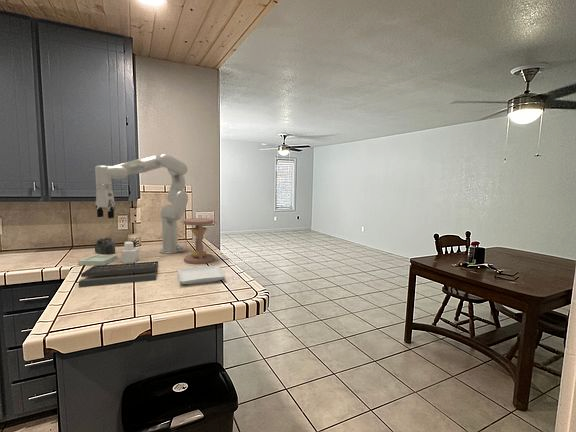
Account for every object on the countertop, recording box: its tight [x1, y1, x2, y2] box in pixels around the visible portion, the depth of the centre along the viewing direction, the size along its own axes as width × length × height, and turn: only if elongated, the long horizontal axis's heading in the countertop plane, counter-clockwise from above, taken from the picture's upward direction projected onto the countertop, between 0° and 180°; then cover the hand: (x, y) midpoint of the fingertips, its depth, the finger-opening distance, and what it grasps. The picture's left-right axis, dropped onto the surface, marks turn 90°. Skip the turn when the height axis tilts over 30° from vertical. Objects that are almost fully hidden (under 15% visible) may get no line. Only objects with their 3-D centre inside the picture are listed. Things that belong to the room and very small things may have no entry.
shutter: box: [78, 260, 159, 288], centre depth 154 cm, size 32×7×31 cm
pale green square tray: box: [77, 254, 118, 266], centre depth 174 cm, size 14×14×2 cm
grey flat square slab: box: [177, 265, 226, 285], centre depth 150 cm, size 21×21×3 cm
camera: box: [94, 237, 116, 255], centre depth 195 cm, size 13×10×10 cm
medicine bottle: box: [121, 240, 140, 264], centre depth 177 cm, size 7×7×12 cm
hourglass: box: [182, 217, 215, 265], centre depth 182 cm, size 18×18×25 cm
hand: (105, 217), depth 172 cm, fingers open, 9 cm apart
